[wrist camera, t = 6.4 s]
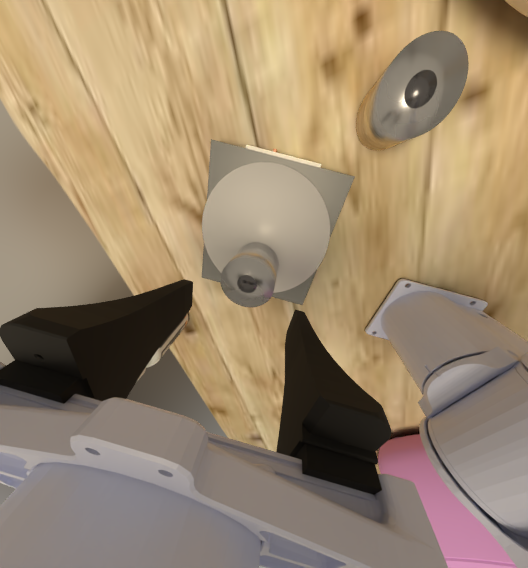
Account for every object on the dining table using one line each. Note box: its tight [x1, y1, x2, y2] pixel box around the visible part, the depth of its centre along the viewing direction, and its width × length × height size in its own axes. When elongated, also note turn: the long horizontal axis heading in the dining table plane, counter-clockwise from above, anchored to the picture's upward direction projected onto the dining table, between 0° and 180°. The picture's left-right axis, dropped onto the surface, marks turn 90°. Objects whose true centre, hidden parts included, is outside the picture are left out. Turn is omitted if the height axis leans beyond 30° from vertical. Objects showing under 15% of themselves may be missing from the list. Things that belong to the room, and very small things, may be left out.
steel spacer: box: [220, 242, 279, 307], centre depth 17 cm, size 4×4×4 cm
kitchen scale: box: [202, 140, 354, 305], centre depth 19 cm, size 12×14×3 cm
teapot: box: [378, 434, 517, 568], centre depth 29 cm, size 23×21×15 cm
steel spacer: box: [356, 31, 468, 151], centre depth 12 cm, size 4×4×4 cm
